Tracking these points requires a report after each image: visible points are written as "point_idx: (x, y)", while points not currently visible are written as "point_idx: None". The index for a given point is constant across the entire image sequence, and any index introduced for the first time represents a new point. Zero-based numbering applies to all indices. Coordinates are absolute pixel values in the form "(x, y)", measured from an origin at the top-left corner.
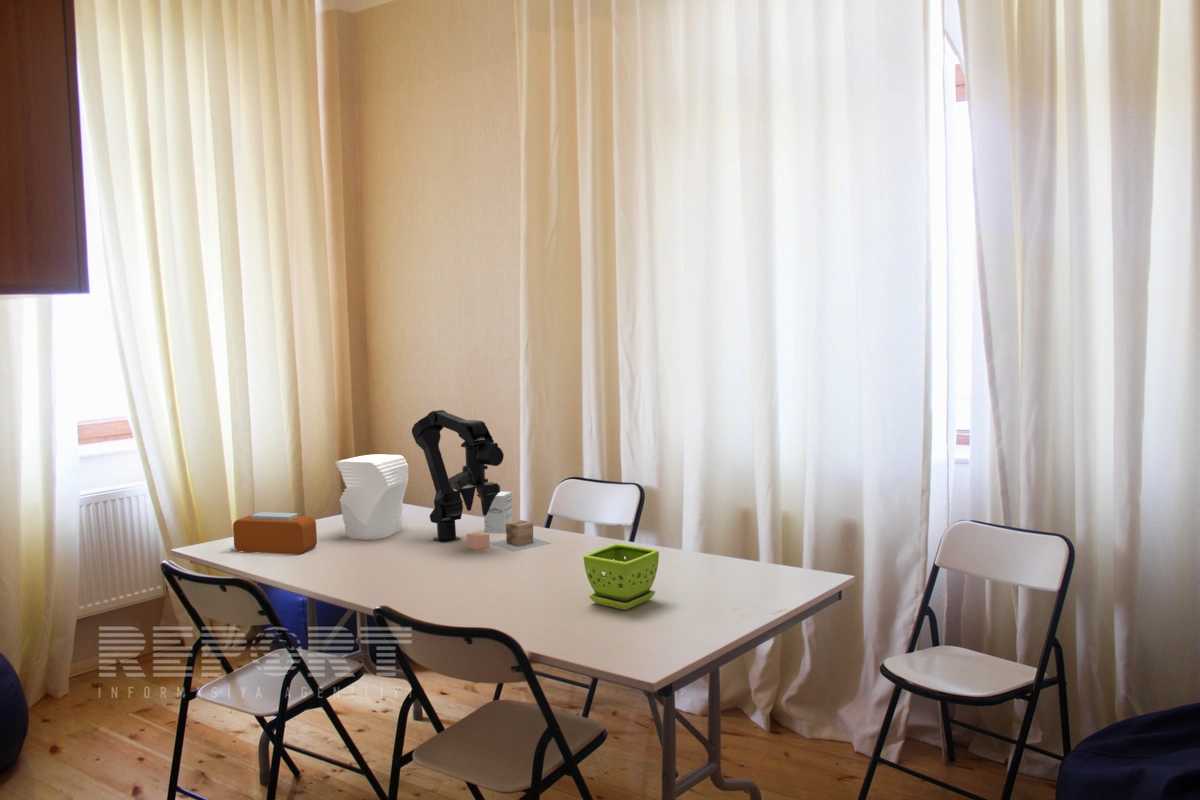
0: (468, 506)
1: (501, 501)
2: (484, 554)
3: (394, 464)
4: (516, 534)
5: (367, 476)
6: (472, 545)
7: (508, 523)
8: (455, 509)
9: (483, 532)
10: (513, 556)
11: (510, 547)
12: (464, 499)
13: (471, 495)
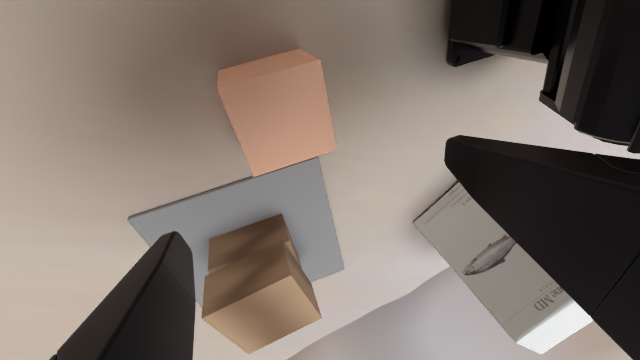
0: (474, 163)
1: (501, 310)
2: (122, 93)
3: None
4: (219, 273)
5: None
6: (249, 66)
7: (279, 284)
8: (601, 63)
9: (304, 157)
10: (41, 207)
11: (203, 217)
12: (589, 166)
13: (583, 274)
